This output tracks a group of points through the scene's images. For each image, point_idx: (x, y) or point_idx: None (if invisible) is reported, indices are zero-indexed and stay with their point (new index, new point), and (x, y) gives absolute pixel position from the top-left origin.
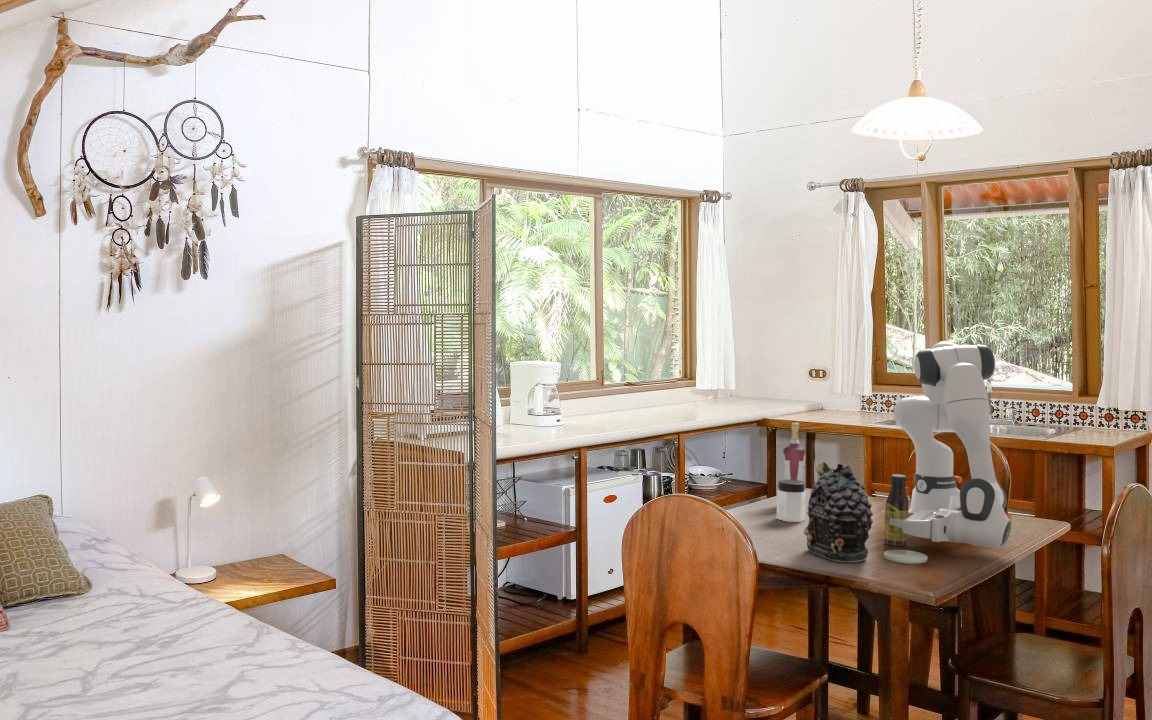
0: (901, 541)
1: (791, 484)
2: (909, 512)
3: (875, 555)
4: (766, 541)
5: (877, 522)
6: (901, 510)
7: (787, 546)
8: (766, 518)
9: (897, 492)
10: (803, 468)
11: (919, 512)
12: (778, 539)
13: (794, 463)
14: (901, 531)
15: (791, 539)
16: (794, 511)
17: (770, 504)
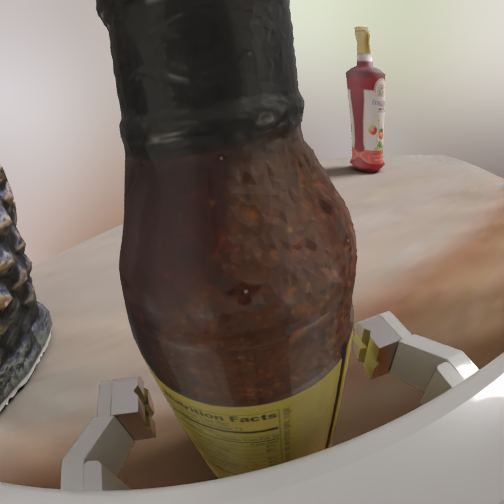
0: None
1: None
2: (430, 341)
3: (22, 464)
4: (62, 255)
5: (454, 249)
6: (164, 380)
7: (36, 286)
8: None
9: (125, 158)
10: (377, 105)
11: (445, 430)
12: (87, 255)
13: (356, 93)
14: (221, 469)
15: (100, 263)
16: None
17: (336, 162)
